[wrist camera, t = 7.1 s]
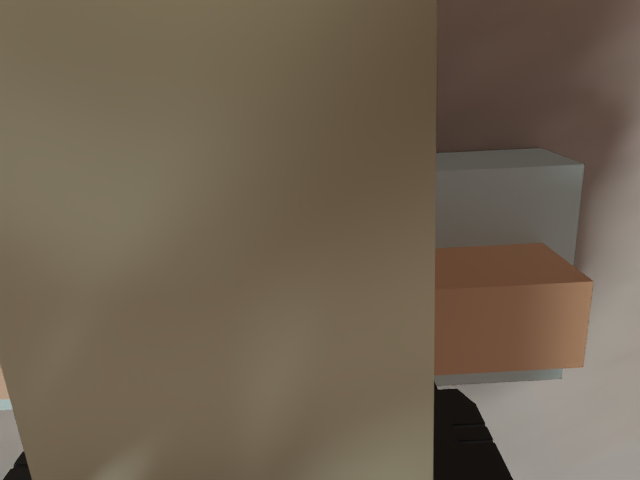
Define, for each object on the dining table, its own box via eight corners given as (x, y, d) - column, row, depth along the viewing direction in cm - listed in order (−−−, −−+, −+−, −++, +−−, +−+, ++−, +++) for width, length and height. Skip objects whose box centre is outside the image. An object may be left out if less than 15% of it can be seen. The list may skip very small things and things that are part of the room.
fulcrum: (41, 361, 20) (-59, 478, 15) (-1, 174, 18) (-137, 226, 13) (525, 335, 21) (610, 439, 15) (541, 147, 19) (647, 187, 13)
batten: (49, -223, 9) (-253, -555, 4) (366, -241, 9) (442, -587, 4) (214, 719, 16) (176, 1006, 11) (390, 706, 16) (428, 987, 11)
